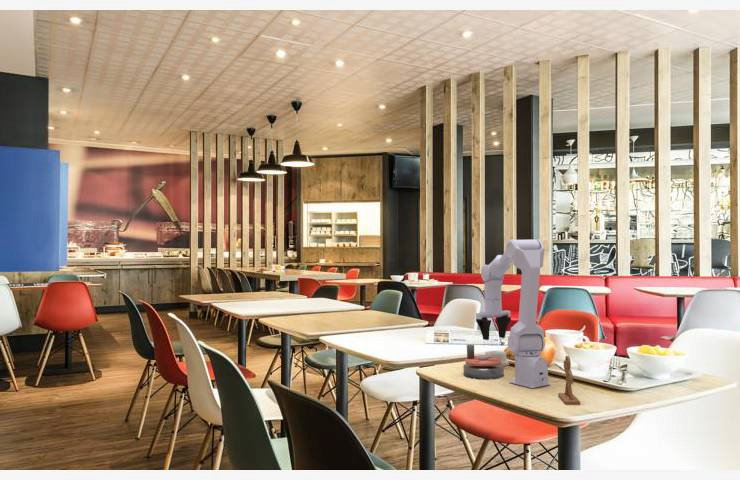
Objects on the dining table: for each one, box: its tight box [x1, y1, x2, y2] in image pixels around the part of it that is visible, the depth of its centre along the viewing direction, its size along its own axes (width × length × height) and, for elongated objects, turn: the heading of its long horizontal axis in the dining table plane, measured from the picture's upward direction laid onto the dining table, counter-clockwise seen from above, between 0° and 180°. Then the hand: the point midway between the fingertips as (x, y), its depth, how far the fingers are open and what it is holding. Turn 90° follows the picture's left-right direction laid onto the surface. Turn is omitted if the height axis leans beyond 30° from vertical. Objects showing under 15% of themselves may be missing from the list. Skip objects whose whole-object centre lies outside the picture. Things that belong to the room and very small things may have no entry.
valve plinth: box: [462, 363, 505, 380], centre depth 184 cm, size 13×13×3 cm
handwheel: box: [464, 344, 501, 366], centre depth 184 cm, size 12×12×6 cm
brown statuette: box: [557, 355, 581, 406], centre depth 150 cm, size 9×4×12 cm, turn 173°
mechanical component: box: [484, 350, 510, 367], centre depth 203 cm, size 10×4×10 cm
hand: (494, 338), depth 193 cm, fingers open, 7 cm apart
